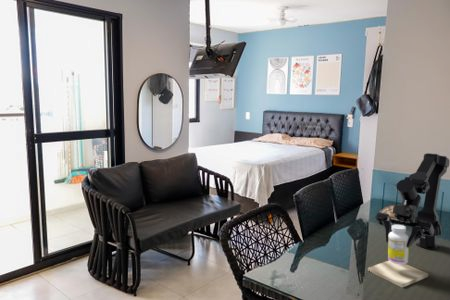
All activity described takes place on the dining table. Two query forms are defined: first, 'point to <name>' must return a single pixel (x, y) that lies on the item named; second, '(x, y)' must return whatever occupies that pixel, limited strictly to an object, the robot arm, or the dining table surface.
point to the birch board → (398, 273)
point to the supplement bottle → (398, 245)
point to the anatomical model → (389, 211)
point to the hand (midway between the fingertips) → (397, 244)
